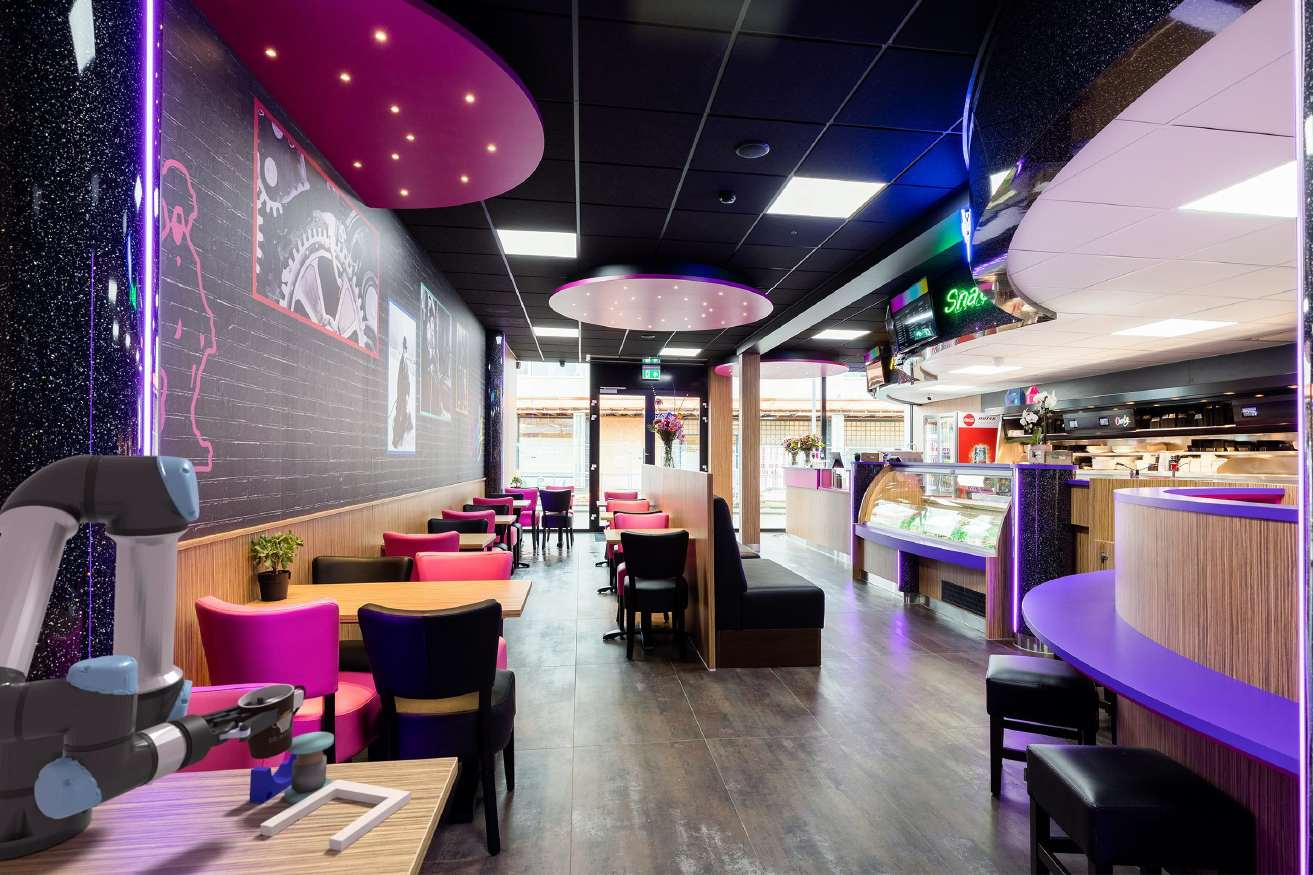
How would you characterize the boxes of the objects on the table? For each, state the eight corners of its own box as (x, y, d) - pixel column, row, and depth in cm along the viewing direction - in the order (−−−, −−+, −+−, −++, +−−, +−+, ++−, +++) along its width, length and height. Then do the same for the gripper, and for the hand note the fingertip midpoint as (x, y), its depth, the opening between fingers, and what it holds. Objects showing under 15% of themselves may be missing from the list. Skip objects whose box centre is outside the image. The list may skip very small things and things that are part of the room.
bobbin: (274, 800, 118) (276, 745, 119) (308, 781, 126) (310, 729, 127) (308, 806, 116) (310, 750, 117) (341, 786, 124) (343, 734, 124)
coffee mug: (251, 768, 107) (245, 712, 106) (237, 751, 113) (231, 697, 112) (324, 739, 116) (319, 686, 115) (307, 723, 122) (302, 673, 121)
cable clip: (289, 773, 130) (290, 743, 130) (309, 774, 129) (310, 744, 129) (242, 802, 118) (243, 769, 118) (263, 804, 117) (264, 770, 118)
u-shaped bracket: (260, 834, 107) (260, 824, 107) (337, 787, 123) (337, 779, 123) (341, 850, 102) (341, 840, 102) (410, 800, 118) (411, 791, 118)
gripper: (138, 766, 98) (271, 713, 121) (201, 778, 94) (327, 721, 117) (141, 716, 99) (273, 673, 121) (204, 726, 95) (328, 680, 117)
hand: (299, 697), depth 119 cm, fingers closed on coffee mug
